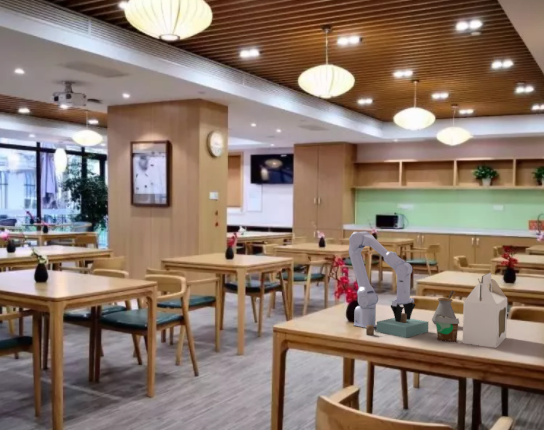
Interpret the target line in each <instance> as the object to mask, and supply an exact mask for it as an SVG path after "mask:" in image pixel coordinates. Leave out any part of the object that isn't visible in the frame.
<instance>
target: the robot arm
mask: <svg viewBox="0 0 544 430" xmlns="http://www.w3.org/2000/svg"><path fill="white" fill-rule="evenodd" d="M348 241H349V245H348V255H349V259H350V262H351V265H352V268H353V269H352V270H353V272H354V275H355V276H354V277H355V279H356V283H357V286H358V289H357V292H356V293H357V303H358V305H357V306H356V307H355V309H354V313H353V314H354V318H353V319H354V320H353V321H354V322H353V323H354V324H353V326H355V327H360V328H361V327H362V328H366V325H374V328H377V323H376V322H377V321H376V318H377V317H376V315H377V314H376V312H377V309H376V308H377V303H378V302H379V296H378V294H377V293H376V292H375V288H373V286H372V285H371V283H370V280H369V277H368V272H367V270H366V266H365V262H364V260H363V256H362V251H363V250H364V248H365V247H371V248H372V249H373V250H374V251H376V252H377V253H378V254H379V255H380V256H382V257H383V262H385V264H387V266H389V267H390V268H392V270H394V273H395V274H396V277H397V279H396V299H395V300H392V301H391V305H390V308H391V310H392V313H393V316H394V318H395V321H396V322H400V321H401V314H402V313H405V314H407V320H410V318H411V317H412V313H413V311H414V309H415V307H416V303H415V298H412V297H411V294H410V293H411V274H412V273H413V266H412V265H411V264H410V263H409V262H407V261H406V262H405V260H404V259H402V258H401V257H400V256H398V254H397V252H395V251H394V252H393V251H388V249H387V248H386V247H385V246H383V245H382V244H381V243H380V242H379V241H378V240H377V239H376V238H375V237H374V235H372V234H371V233H370V232H368V231H367V230H364V231H353V233H351V235H350V236H349V237H348ZM403 310H404V311H403Z"/></svg>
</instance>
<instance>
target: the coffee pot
mask: <svg viewBox="0 0 544 430" xmlns="http://www.w3.org/2000/svg"><path fill="white" fill-rule="evenodd" d="M454 293H455V291H454V290H451V291H450V292H449V294H448V297H438V298H437V300H438V304H437V305H438V306H437V308H436V309H435V312H434V313H433V316H432V318H431V322H432V323H433V324H434V325H435V327H437V324H436V321H435V316H436V315H437V314H442V316H444V317H450V318H452V319H457V317H456V314H455V311H454V309H453V307H452V302H453V298H452V296H453V295H454Z"/></svg>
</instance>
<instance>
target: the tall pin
mask: <svg viewBox="0 0 544 430" xmlns="http://www.w3.org/2000/svg"><path fill="white" fill-rule="evenodd" d="M400 322H401V323H407V314H405V312H402V314H401V321H400Z"/></svg>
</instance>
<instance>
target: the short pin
mask: <svg viewBox="0 0 544 430" xmlns="http://www.w3.org/2000/svg"><path fill="white" fill-rule="evenodd" d="M365 331H366V332H365V334H366V336H370V337H371V336H372V337H373V336H374V335H375V332H374V331H375V327H374V325H366V329H365Z"/></svg>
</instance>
